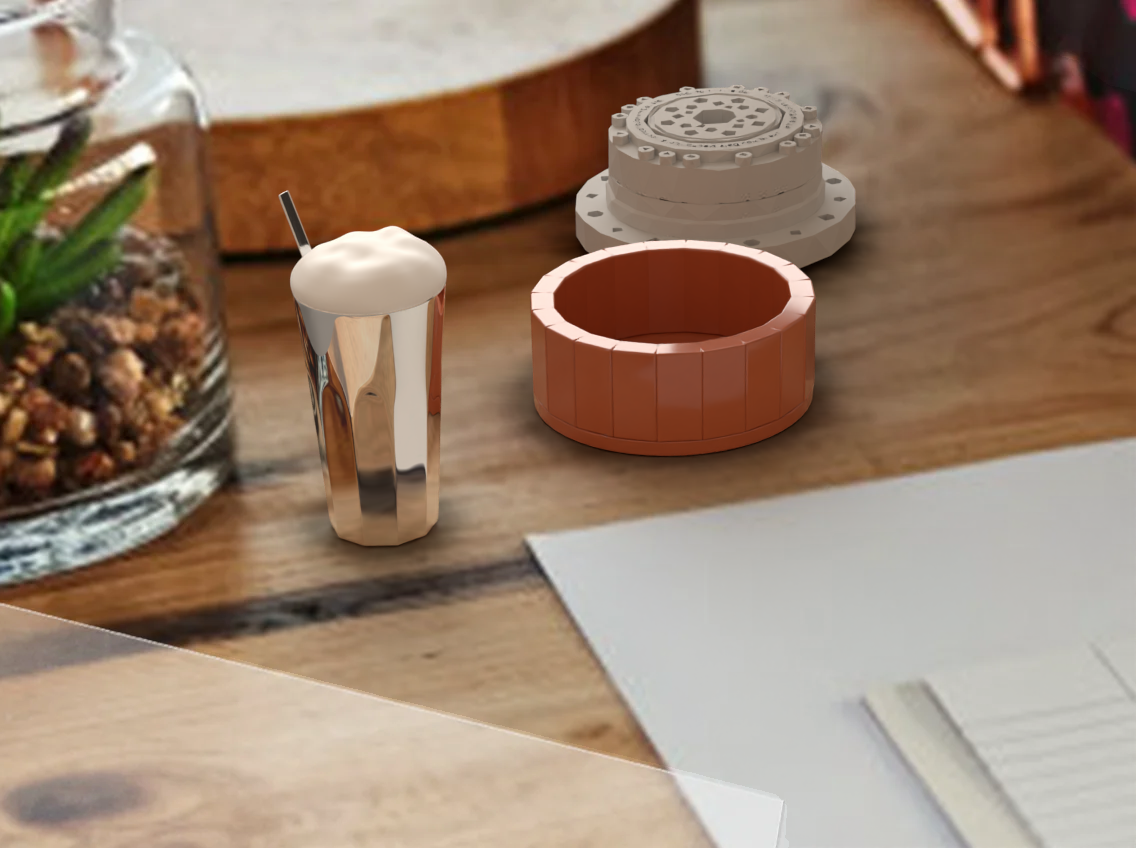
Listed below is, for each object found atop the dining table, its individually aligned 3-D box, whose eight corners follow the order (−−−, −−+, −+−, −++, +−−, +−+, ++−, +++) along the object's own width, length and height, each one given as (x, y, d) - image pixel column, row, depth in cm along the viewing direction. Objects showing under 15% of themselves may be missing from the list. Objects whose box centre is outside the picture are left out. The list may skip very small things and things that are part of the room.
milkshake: (354, 470, 98) (333, 167, 93) (489, 512, 95) (475, 202, 90) (259, 526, 96) (231, 217, 90) (394, 572, 92) (374, 255, 87)
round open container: (865, 373, 102) (867, 272, 100) (716, 480, 96) (715, 376, 94) (634, 317, 107) (632, 220, 105) (479, 416, 101) (474, 316, 99)
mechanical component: (774, 309, 107) (903, 208, 113) (776, 186, 104) (906, 90, 111) (524, 260, 112) (661, 166, 118) (520, 142, 109) (660, 53, 116)
